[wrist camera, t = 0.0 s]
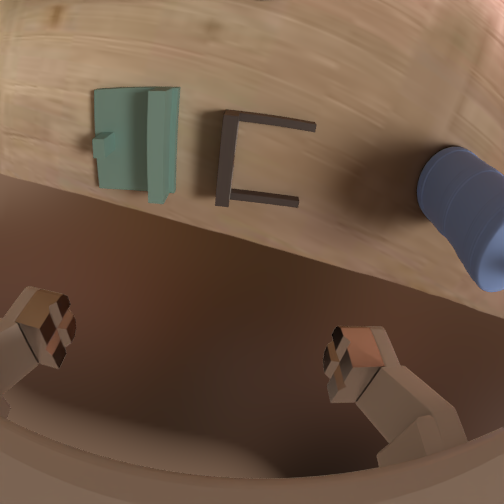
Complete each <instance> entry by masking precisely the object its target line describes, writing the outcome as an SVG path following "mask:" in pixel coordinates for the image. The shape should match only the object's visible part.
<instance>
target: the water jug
mask: <svg viewBox="0 0 504 504" xmlns="http://www.w3.org/2000/svg"><path fill="white" fill-rule="evenodd" d="M417 199H418V203H419V206H420V208H421V210H422V212H423V213H424V215H425V216H426V217H427V218H428V219H429V220H430V221H431V222H432V223H433V225H434V226H435V227H436V228H437V230H438V231H439V232H440V233H441V234H442V235H443V236H445V237H446V238H447V239H448V241H449V242H450V243H451V245H452V246H453V248H454V249H455V251H456V253H457V256H458V257H459V259H460V260H461V262H462V263H463V265H464V267H465V269H466V270H467V272H468V273H469V275H470V276H471V278H472V279H473V280H474V281H475V282H476V284H477V285H478V286H479V288H481V289H482V290H484V291H487V292H497V291H501V290H503V289H504V175H502V174H501V173H500V172H499V171H497V170H496V169H495V168H493V167H491V166H489V165H488V164H487V163H485V162H484V161H482V160H481V159H479V158H478V157H477V156H476V155H475V154H474V153H472V152H471V151H469V150H467V149H465V148H462V147H449V148H445V149H443V150H441V151H439V152H438V153H436V154H435V155H434V156H433V157H432V158H431V159H430V160H429V161H428V162H427V164H426V165H425V167H424V168H423V170H422V172H421V175H420V177H419V181H418V186H417Z"/></svg>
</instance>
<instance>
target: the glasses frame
mask: <svg viewBox="0 0 504 504" xmlns="http://www.w3.org/2000/svg"><path fill="white" fill-rule="evenodd" d="M239 121H244V122H253V123H260V124H268V125H275V126H281V127H288V128H294V129H300V130H305V131H311V132H315V130H316V123H315V122H310V121H305V120H299V119H293V118H287V117H281V116H275V115H268V114H260V113H253V112H244V111H235V110H226V111H225V113H224V118H223V126H222V136H221V145H220V157H219V167H218V177H217V189H216V202H215V206H223V207H228V206H229V200H239V201H248V202H257V203H265V204H273V205H281V206H288V207H296V208H298V205H299V198H298V197H294V196H287V195H280V194H272V193H264V192H256V191H248V190H239V189H231V185H232V176H233V167H234V157H235V150H236V142H237V134H238V126H239Z"/></svg>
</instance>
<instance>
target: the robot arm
mask: <svg viewBox="0 0 504 504" xmlns="http://www.w3.org/2000/svg"><path fill="white" fill-rule="evenodd" d="M69 307H70V301H69V298H68V296H66V295H64V294H60V293H56V292H52V291H48V290H44V289H39V288H35V287H31V286H29V287H27V288H25V289H24V291H23V292H22V294H21V295H20V296H19V297H18V299H17V300H16V301H15V302H14V304H13V305H12V307H11V308H10V309H9V311H8V312H7V313H6V315H5V316H4V318H0V504H504V427H502V428H500V429H497V430H495V431H493V432H491V433H488V434H486V435H484V436H481V437H479V438H476V439H474V440H471V441H469V442H468V441H467V438H466V436H465V433H464V430H463V428H462V425H461V423H460V420H459V417H458V415H457V412H456V410H455V408H454V407H453V406H452V405H451V404H449V403H448V402H447V401H446V400H445V399H443V398H442V397H441V396H440V395H439V394H437V393H436V392H435V391H434V390H433V389H431V388H430V387H429V386H428V385H427V384H426V383H424V382H423V381H422V380H421V379H420V378H418V377H417V376H416V375H415V374H413V373H412V372H411V371H410V370H409V369H408V368H406V367H405V366H400V364H399V361H398V359H397V356H396V354H395V352H394V349H393V347H392V345H391V342H390V340H389V338H388V335H387V333H386V331H385V329H384V328H383V327H381V326H368V327H365V326H337V327H336V328H335V329H334V331H333V333H332V338H333V341H332V342H330V343H329V344H328V345H327V346H326V349H325V351H324V357H323V368H324V373H325V374H326V375H327V376H328V377H329V378H330V381H329V382H328V384H327V388H328V392H329V398H330V402H331V403H349V402H356V405H357V406H358V407H359V408H360V409H361V410H362V412H363V413H364V414H365V415H366V416H367V418H368V419H369V420H370V421H371V422H372V424H373V425H374V426H375V427H376V428H377V429H378V431H379V432H380V433H381V434H382V435H383V437H384V438H385V439H386V440H387V441H388V443H389V445H387V446H386V447H385V448H384V449H382V450H381V451H380V452H379V453H378V454H377V460H378V464H379V468H374V469H368V470H362V471H356V472H349V473H342V474H334V475H325V476H314V477H301V478H276V479H275V478H274V479H253V478H250V479H249V478H229V477H215V476H203V475H193V474H186V473H179V472H172V471H166V470H160V469H155V468H150V467H144V466H140V465H135V464H131V463H127V462H122V461H118V460H114V459H111V458H107V457H104V456H100V455H97V454H93V453H90V452H87V451H84V450H80V449H78V448H74V447H72V446H69V445H66V444H63V443H61V442H58V441H55V440H52V439H50V438H48V437H45V436H43V435H40V434H38V433H36V432H33V431H31V430H29V429H27V428H24V427H22V426H20V425H18V424H16V423H14V422H12V421H10V420H8V419H7V417H8V414H9V411H10V409H11V408H10V405H9V403H8V402H7V401H6V400H5V399H4V397H3V396H2V395H3V394H4V393H5V392H7V391H8V390H9V389H10V388H11V387H12V386H14V385H15V384H16V383H17V382H18V381H20V380H21V379H22V378H23V377H24V376H25V375H27V374H28V373H29V372H30V371H31V370H33V369H34V368H35V367H36V366H37V365H38V363H39V364H43V365H46V366H50V367H54V368H57V369H59V368H60V366H61V364H62V362H63V360H64V357H65V356H66V349H65V347H66V346H68V345H69V344H70V343H72V341H73V339H74V337H75V332H76V320H75V317H74V315H73V313H72V312H70V310H69V309H68V308H69Z"/></svg>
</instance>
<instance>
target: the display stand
mask: <svg viewBox="0 0 504 504" xmlns="http://www.w3.org/2000/svg"><path fill="white" fill-rule="evenodd" d="M179 98H180V87H119V88H102V89H96V90H94V118H95V138H93V139H92V144H93V157H94V158H97V168H98V178H99V187H100V188H107V189H124V190H139V191H148V203H157V204H164V202H165V200H166V198H167V196H168V194H169V193H174V192H175V190H176V154H177V131H178V113H179Z"/></svg>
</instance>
